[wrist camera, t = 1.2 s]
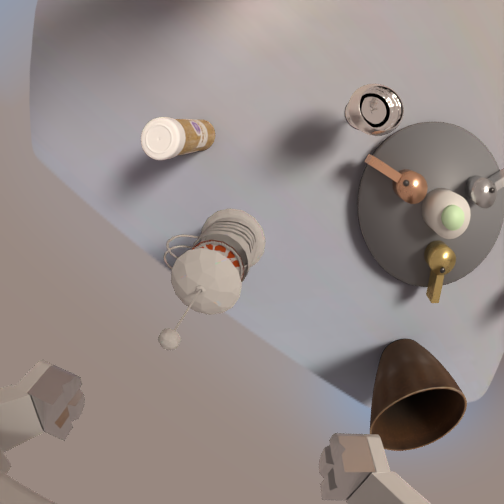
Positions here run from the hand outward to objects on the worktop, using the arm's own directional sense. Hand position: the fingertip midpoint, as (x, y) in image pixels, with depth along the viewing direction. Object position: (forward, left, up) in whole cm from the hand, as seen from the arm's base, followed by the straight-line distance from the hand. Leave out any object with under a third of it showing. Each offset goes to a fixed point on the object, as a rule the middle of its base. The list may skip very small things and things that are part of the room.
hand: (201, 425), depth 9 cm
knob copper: (-9, +11, -36) cm, 38 cm away
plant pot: (+15, +32, -38) cm, 52 cm away
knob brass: (-2, +24, -36) cm, 43 cm away
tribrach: (-9, +20, -38) cm, 44 cm away
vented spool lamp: (+11, -4, -38) cm, 40 cm away
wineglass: (-14, +4, -38) cm, 41 cm away
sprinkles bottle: (-1, -14, -38) cm, 41 cm away
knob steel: (-17, +24, -36) cm, 46 cm away
